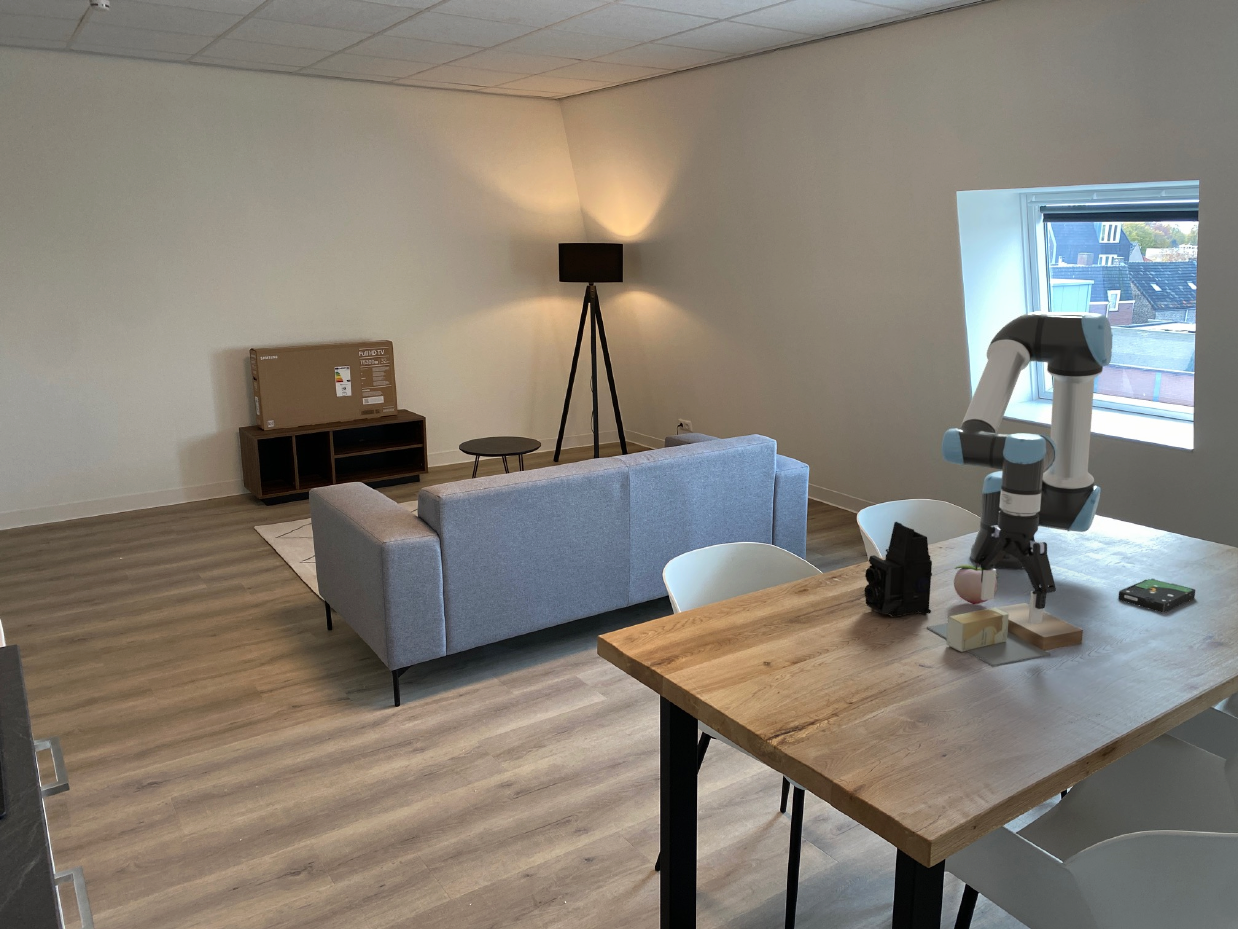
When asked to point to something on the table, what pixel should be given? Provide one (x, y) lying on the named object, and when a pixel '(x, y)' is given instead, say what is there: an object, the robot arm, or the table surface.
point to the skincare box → (977, 629)
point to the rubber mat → (1000, 649)
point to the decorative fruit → (970, 583)
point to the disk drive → (1156, 595)
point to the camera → (900, 575)
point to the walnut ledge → (1041, 628)
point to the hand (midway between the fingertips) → (1010, 610)
